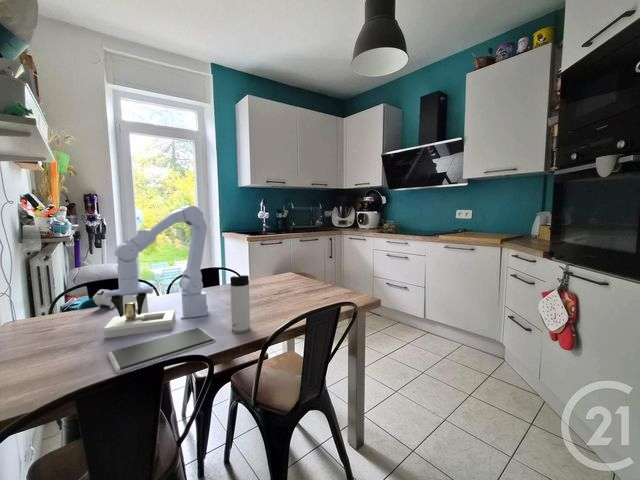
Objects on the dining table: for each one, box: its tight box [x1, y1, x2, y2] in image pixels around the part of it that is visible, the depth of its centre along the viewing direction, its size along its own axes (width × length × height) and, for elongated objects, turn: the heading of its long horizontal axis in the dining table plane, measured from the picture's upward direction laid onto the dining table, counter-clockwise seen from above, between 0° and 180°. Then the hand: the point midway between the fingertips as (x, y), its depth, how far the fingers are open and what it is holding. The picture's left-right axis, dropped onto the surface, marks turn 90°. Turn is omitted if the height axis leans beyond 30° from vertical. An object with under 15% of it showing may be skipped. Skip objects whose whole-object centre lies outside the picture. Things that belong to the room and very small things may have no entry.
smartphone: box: [107, 327, 216, 374], centre depth 88 cm, size 13×27×2 cm, turn 134°
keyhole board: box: [103, 309, 176, 339], centre depth 103 cm, size 20×11×4 cm, turn 111°
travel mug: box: [230, 274, 251, 334], centre depth 101 cm, size 6×7×20 cm
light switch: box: [123, 294, 149, 316], centre depth 114 cm, size 8×6×14 cm
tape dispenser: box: [92, 288, 115, 310], centre depth 124 cm, size 6×7×10 cm
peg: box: [124, 302, 136, 321], centre depth 102 cm, size 5×5×10 cm
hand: (130, 314), depth 102 cm, fingers open, 5 cm apart
